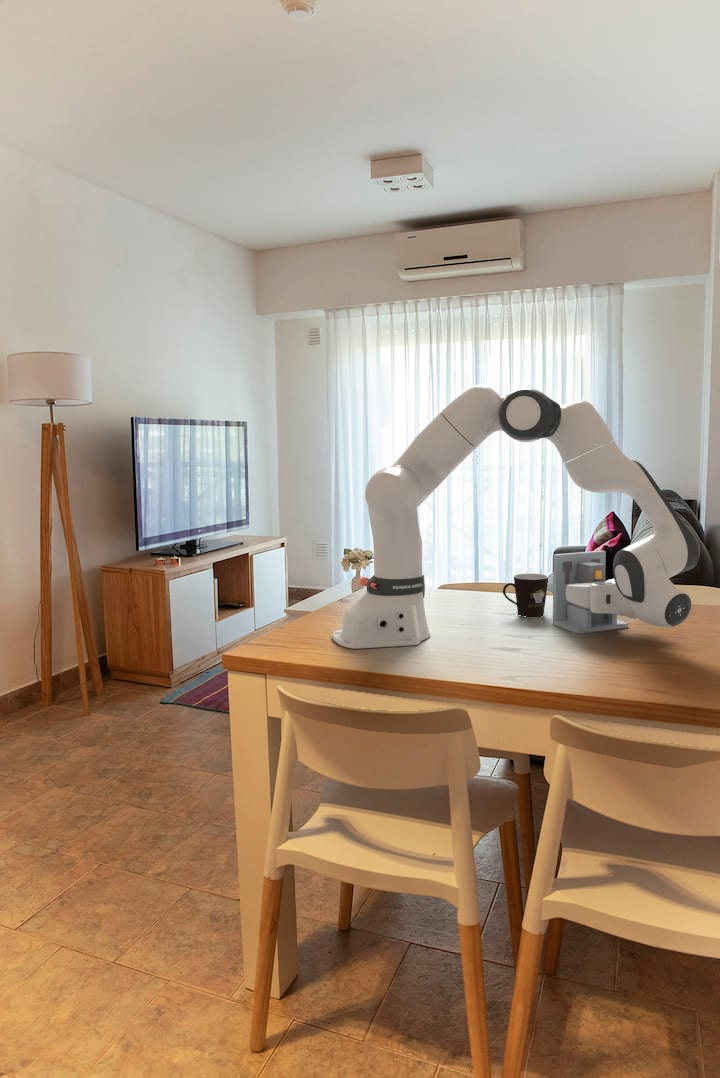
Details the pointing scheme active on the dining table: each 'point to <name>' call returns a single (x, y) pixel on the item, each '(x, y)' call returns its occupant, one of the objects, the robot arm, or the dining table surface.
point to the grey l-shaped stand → (568, 612)
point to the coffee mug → (529, 594)
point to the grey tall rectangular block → (589, 574)
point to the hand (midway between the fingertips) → (588, 585)
